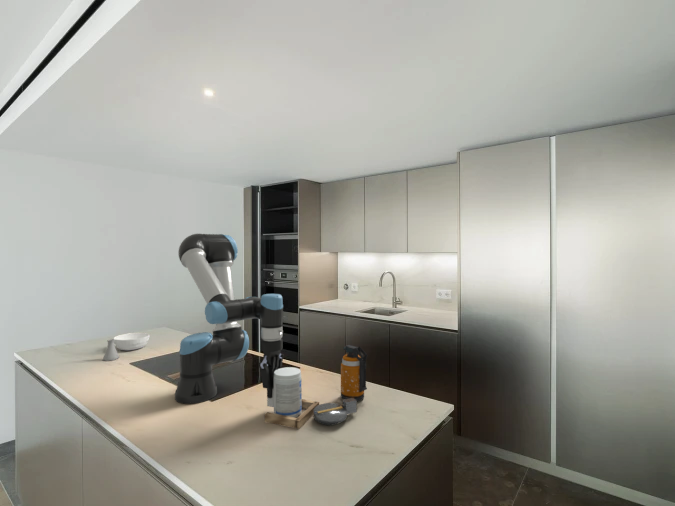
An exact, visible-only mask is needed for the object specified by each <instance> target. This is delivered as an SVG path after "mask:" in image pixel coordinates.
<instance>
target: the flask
mask: <svg viewBox="0 0 675 506" xmlns="http://www.w3.org/2000/svg"><path fill="white" fill-rule="evenodd" d="M114 341H115V339H113V338H111V339H108V340H107V341H106V342H107V347H106V350H105V352H104V355H103V357H102V361H105V362H107V361H108V362H109V361H115V360H118V359H119V358H120V355H119V352H118V351H117V347H116V344H114Z"/></svg>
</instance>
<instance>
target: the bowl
mask: <svg viewBox="0 0 675 506" xmlns="http://www.w3.org/2000/svg"><path fill="white" fill-rule="evenodd" d="M150 334H151V333H148V332H130V333H124V334H119V335H116V336H114V337H113V338H112V339H115V341H114V345H115V348H116V349H118V350H121V351H134V350H139V349H141V348H143V347H145V346H146V345H147V344H148V342H149V339H150V337H151V336H150Z"/></svg>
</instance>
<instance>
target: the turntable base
mask: <svg viewBox="0 0 675 506" xmlns="http://www.w3.org/2000/svg"><path fill="white" fill-rule="evenodd" d="M321 424H322V425H325V426H336V425H338V424H339V423H337V424H323V423H321Z"/></svg>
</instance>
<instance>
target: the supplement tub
mask: <svg viewBox="0 0 675 506" xmlns="http://www.w3.org/2000/svg"><path fill="white" fill-rule="evenodd" d="M302 392H303V391H302V371H301V369H300V368H298V367H291V366H289V367H288V366H287V367H282V368H280V369H277V370H275V371H274V407H273V413H274V414H279V415H284V416H289V417H294V418H298V417H299V416H300V415H301V414H302V413H303V411H302V409H303V408H302V399H303V397H302Z"/></svg>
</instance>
